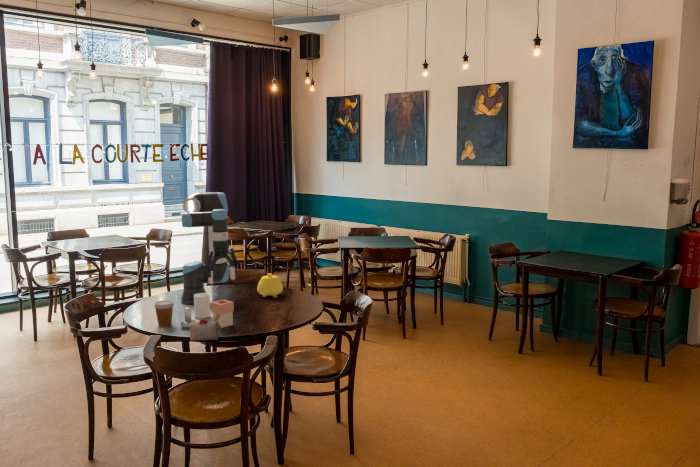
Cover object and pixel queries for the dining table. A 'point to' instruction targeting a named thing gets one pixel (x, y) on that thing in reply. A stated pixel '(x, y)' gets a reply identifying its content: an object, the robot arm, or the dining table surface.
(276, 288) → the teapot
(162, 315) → the disposable coffee cup
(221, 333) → the dining table surface
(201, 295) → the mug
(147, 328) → the dining table surface
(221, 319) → the pedestal
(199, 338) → the food item
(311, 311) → the dining table surface
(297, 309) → the dining table surface
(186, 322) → the hub
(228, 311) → the collar
